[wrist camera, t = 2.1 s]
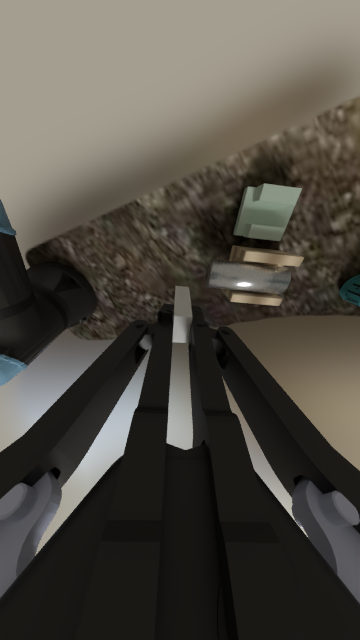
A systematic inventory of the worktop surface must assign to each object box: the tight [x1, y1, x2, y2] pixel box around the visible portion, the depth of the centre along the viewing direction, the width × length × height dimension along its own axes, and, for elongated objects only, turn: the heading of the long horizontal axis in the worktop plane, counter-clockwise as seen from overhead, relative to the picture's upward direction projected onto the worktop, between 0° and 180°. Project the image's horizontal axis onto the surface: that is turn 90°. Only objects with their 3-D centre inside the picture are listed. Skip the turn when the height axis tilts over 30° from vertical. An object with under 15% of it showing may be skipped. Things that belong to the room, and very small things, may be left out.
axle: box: [206, 259, 291, 294], centre depth 28 cm, size 14×5×5 cm, turn 84°
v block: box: [233, 183, 302, 241], centre depth 26 cm, size 9×7×4 cm
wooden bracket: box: [223, 245, 304, 306], centre depth 30 cm, size 10×9×8 cm
